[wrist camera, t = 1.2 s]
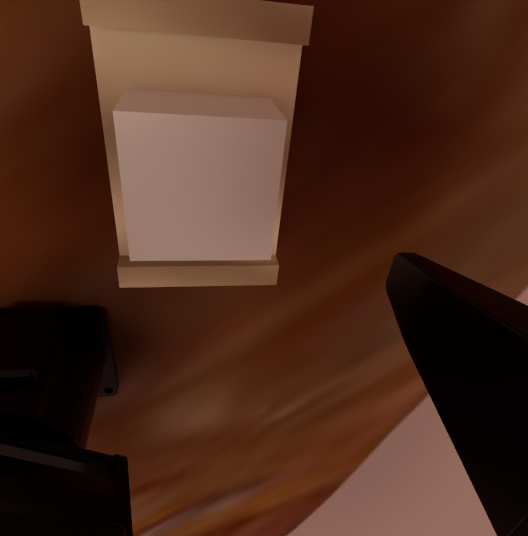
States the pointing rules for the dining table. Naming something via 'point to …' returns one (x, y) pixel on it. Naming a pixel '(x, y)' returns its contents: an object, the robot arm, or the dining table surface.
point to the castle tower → (198, 81)
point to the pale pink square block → (199, 174)
